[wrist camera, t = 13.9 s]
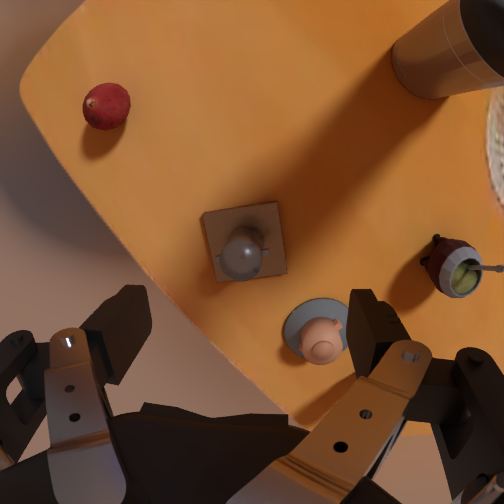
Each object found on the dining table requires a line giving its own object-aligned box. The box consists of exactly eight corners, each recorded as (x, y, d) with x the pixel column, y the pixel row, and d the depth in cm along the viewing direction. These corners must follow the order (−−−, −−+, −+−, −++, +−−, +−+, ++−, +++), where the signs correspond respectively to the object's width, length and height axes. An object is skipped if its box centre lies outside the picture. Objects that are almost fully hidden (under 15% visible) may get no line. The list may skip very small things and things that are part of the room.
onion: (132, 134, 37) (101, 134, 29) (96, 125, 36) (61, 124, 29) (146, 91, 35) (117, 81, 27) (109, 84, 34) (76, 75, 27)
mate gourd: (420, 285, 40) (471, 343, 26) (412, 233, 38) (471, 278, 24) (463, 268, 39) (521, 317, 25) (457, 217, 37) (524, 252, 23)
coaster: (353, 292, 41) (354, 294, 41) (354, 352, 44) (355, 354, 44) (280, 303, 42) (280, 305, 42) (288, 361, 45) (288, 363, 45)
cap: (348, 330, 42) (355, 349, 38) (311, 356, 44) (314, 376, 40) (327, 306, 41) (333, 324, 37) (289, 333, 43) (290, 353, 39)
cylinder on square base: (277, 201, 38) (277, 212, 31) (287, 270, 41) (289, 295, 34) (204, 212, 39) (189, 226, 33) (218, 279, 42) (208, 304, 35)
